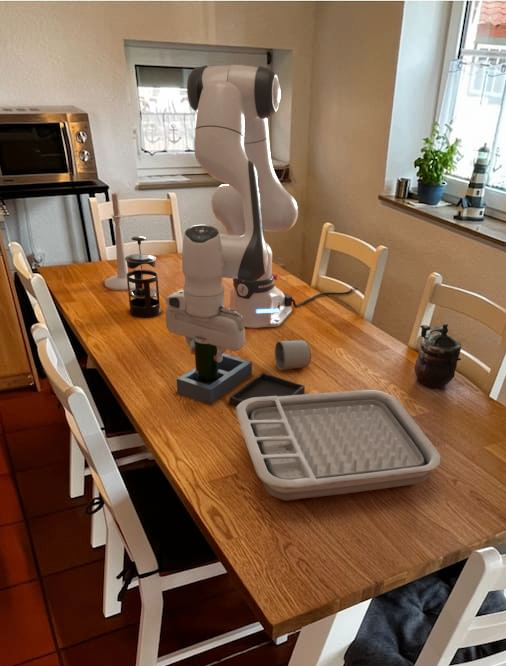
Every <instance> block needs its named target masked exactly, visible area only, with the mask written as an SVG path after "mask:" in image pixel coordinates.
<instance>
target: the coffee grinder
mask: <svg viewBox="0 0 506 666" xmlns="http://www.w3.org/2000/svg"><path fill="white" fill-rule="evenodd" d="M448 326H449V323H447V322H444V323H443V324H442V326H433V327H431V326H429V325H427V324H421V325H419V327H420V328H421V332H420V337H421V338H422V339H421V340H420V349H419V353H418V355H417V358H416V361H415V364H414V373H415V376H416V378H417V380H418V382H419V383H420V384H422V385H426V387H428V388H429V389H430V388H431V389H432V388H439V389H441V388H445V386H446V385H448V384H449V382H450V381H452V380H453V379H454V378H455V375H456V374H455V373H456V369H457V367H458V366H457V364H458V361H461V360H462V358H461V357H460V354H461V350H462V343H461V342H460V341H459V339H457V338H455V337H453V336H451V335H450V334H448V332H449V329H448ZM433 332H436V333H433ZM437 332H438V333H437Z"/></svg>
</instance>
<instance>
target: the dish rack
mask: <svg viewBox="0 0 506 666" xmlns="http://www.w3.org/2000/svg"><path fill="white" fill-rule="evenodd" d="M235 415H236V417H237V421H238V424H239V426H240V430H241V433H242V436H243V439H244V442H245V444H246V447H247V450H248V453H249V456H250V459H251V462H252V465H253V467H254V471H255V473H256V476H257V477H258V478H259V479H260V480H261V483H262V485H263V487H264V490H265V491H266V492H267V493H268V494H269V495H270V496H272V497H274V498H276V499H281V500H282V501H294V500H301V499H309V498H319V497H327V496H336V495H345V494H352V493H360V492H367V491H374V490H383V489H390V488H391V489H392V488H397V487H398V488H399V487H404V486H411V485H412V486H413V485H418V484H422V483H423V482H425V481H426V480H427V479H428V477H429V474H430V472H432V471H434V470H436V469H437V468H438V467H439V466H440V464H441V462H442V458H441V455H440V453H439V451H438V449H437V448H436V446H435V445H434V444H433V443H432V442H431V440H430V439H429V438H428V437H427V434H425V432H424V431H423V430H422V429H421V428H420V426H419V425H418V424H417V422H416V421H415V420H414V419H413V417H412V416H411V414H409V413H408V411H407V410H406V409H405V407H404V406H403V405H402V404H401V402H400V401H399V399H398V398H396V397H395V396H393V395H392V394H389V393H387V392H385V391H382V390H378V389H358V390H346V391H333V392H332V391H331V392H319V393H307V394H306V393H304V394H302V395H291V396H279V397H278V396H267V397H254V398H249V399H246V400H244V401H242V402H241V403H239V404H238V405H237V407H235Z"/></svg>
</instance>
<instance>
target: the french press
mask: <svg viewBox="0 0 506 666" xmlns="http://www.w3.org/2000/svg"><path fill="white" fill-rule="evenodd" d="M146 240H147V237H145V236H141V235H140V236H139V235H137V236H132V237H131V241H135V242H137V245H138V251H139V253H137V254H136V253H135V254H129V255H127V256H126V257H125V261H126V262H127V267H128V268H129V269H131V270H132V271H128V273H127V284H128V290H127V294H128V302H129V315H130V316H132V317H134V318H139V319H150V318H155V317H158V316H159V315H160V314H162V310H161V305H160V293H159V292H160V291H159V290H160V289H159V278H158V277H159V276H158V272H156V271H154V270H150V269H149V270H148V269H143V265H149V266H150V267H153V268H155V267H156V262H157V257H156V256H155V255H152V254H147V253H142V251H141V250H142V249H141V245H142V242H144V241H146ZM139 266H140V268H138V267H139ZM143 275H149V276H152V277H151V278H144V276H143ZM130 276H134V278H135V279H133V278H130ZM129 282H132V283H135V288H136V289H133V290H130V286H129ZM152 283H155V288H156V289H155V288H151V287H150V286H151V285H150V284H152Z"/></svg>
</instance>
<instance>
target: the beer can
mask: <svg viewBox="0 0 506 666" xmlns="http://www.w3.org/2000/svg"><path fill="white" fill-rule="evenodd" d="M195 337H196V338H195V339H194V345H195V355H194V362H195V363H194V364H195V367H196V379H197V381H198V382H200V383H203V384H206V385H210V384H212V383H213V382H215V381H216V380H218V362H216V361H213V359H214V358H213V355H214V354H216V353H217V352H218V351H219V350H217V346H214V345H211V344H209V343H208V342H207V341H206V340H207V339H203V338H201V337H199V338H198V337H197V336H195Z"/></svg>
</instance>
